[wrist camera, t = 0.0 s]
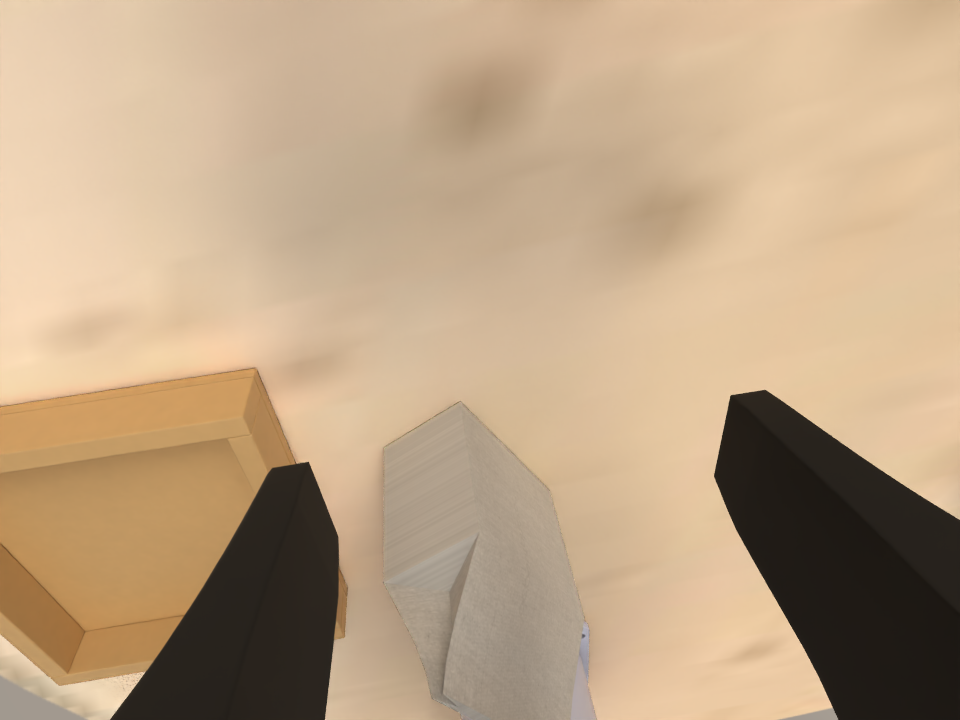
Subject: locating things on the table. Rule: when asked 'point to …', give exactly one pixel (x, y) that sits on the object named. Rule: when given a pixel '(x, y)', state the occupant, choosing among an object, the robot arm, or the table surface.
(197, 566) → the tray
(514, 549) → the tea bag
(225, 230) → the table surface
